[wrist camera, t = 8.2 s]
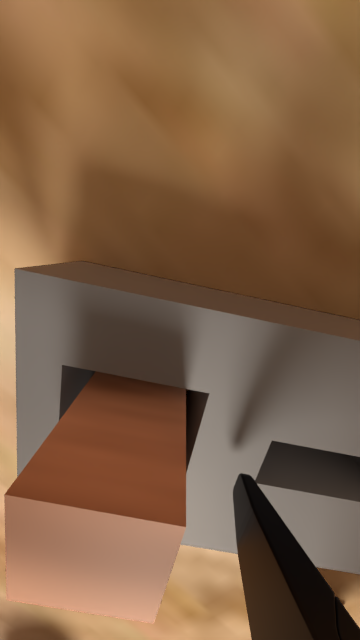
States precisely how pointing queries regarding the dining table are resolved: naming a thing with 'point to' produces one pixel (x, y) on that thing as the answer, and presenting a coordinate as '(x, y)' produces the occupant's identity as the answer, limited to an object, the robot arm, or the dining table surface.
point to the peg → (102, 503)
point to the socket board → (208, 392)
